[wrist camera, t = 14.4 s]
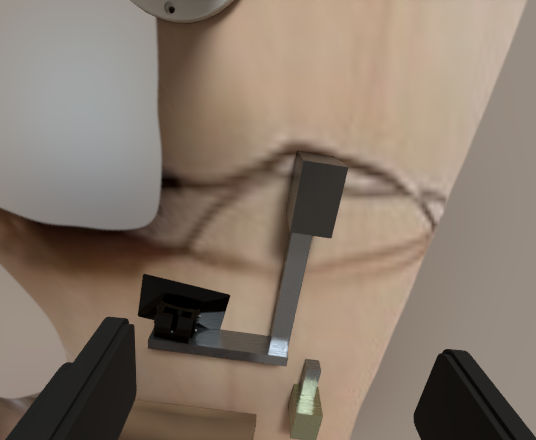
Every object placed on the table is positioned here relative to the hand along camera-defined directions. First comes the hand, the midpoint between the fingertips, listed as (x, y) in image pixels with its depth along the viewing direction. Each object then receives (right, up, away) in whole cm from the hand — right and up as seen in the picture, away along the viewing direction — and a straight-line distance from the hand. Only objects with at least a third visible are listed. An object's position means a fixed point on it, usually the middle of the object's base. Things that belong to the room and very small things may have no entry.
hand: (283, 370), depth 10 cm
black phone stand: (-10, -5, +27) cm, 29 cm away
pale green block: (+4, -16, +30) cm, 34 cm away
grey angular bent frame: (-4, +1, +24) cm, 24 cm away
